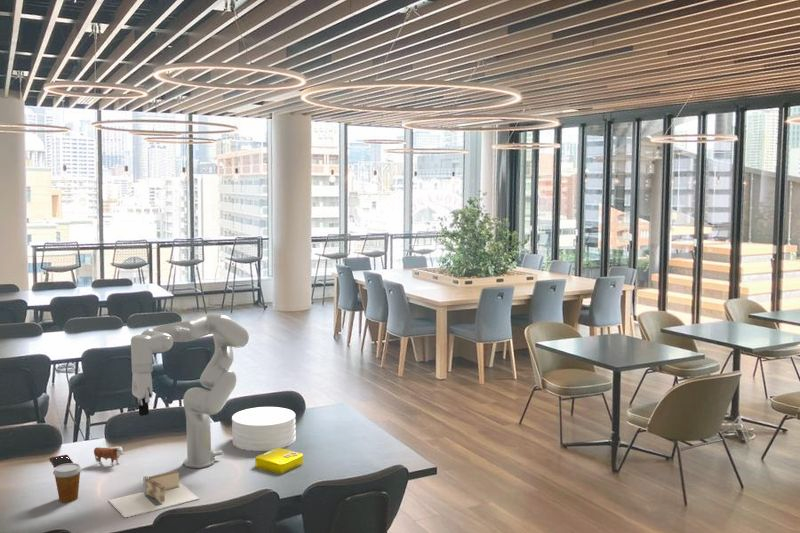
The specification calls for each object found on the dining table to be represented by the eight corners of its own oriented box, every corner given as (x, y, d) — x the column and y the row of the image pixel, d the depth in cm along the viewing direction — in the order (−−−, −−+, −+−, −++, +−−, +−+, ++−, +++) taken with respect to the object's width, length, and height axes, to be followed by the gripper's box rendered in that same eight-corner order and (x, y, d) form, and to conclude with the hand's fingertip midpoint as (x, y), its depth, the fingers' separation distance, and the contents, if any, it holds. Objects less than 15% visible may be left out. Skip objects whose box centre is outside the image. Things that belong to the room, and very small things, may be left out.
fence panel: (146, 493, 291) (145, 479, 291) (149, 492, 292) (149, 478, 292) (161, 502, 284) (161, 487, 283) (164, 501, 285) (164, 486, 284)
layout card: (180, 484, 303) (179, 466, 302) (199, 499, 289) (198, 481, 288) (108, 501, 287) (107, 483, 286) (124, 518, 273) (124, 499, 272)
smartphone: (67, 454, 334) (75, 464, 322) (67, 456, 334) (75, 466, 322) (49, 457, 330) (56, 468, 318) (49, 459, 331) (56, 470, 318)
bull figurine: (122, 468, 320) (121, 448, 319) (92, 465, 323) (91, 446, 322) (128, 464, 324) (127, 445, 323) (98, 461, 327) (97, 442, 326)
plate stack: (264, 426, 374) (264, 403, 373) (308, 438, 358) (308, 413, 356) (219, 442, 351) (218, 417, 350) (264, 455, 335) (263, 429, 334)
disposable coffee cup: (59, 494, 293) (58, 463, 292) (86, 493, 294) (84, 462, 293) (50, 504, 284) (49, 472, 283) (77, 503, 285) (76, 471, 283)
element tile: (277, 456, 334) (277, 445, 334) (305, 463, 326) (305, 452, 326) (253, 467, 322) (252, 456, 321) (280, 475, 314) (280, 463, 313)
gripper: (125, 365, 303) (127, 411, 305) (139, 373, 291) (140, 421, 293) (145, 362, 307) (146, 408, 309) (159, 370, 296) (160, 417, 298)
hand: (143, 414), depth 301 cm, fingers closed
